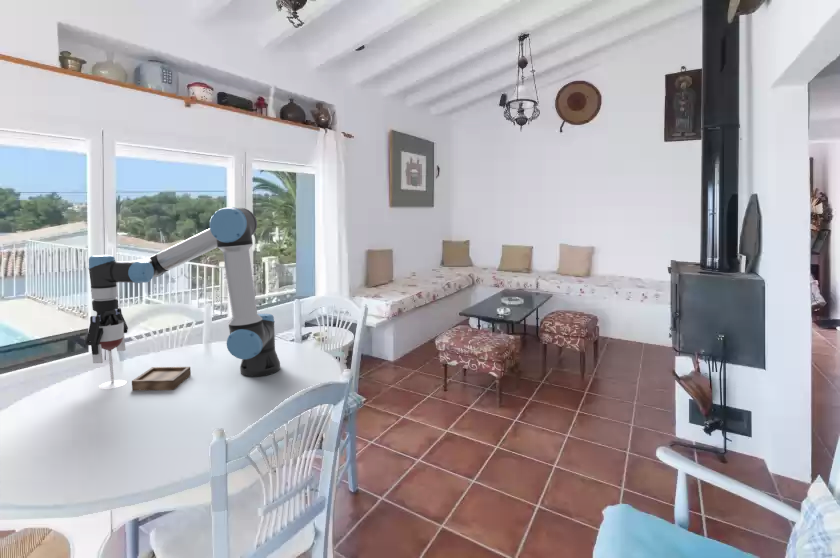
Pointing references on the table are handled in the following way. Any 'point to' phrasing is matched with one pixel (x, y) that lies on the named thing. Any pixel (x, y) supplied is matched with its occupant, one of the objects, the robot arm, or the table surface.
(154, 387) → the tray
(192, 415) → the table surface
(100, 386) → the wineglass
